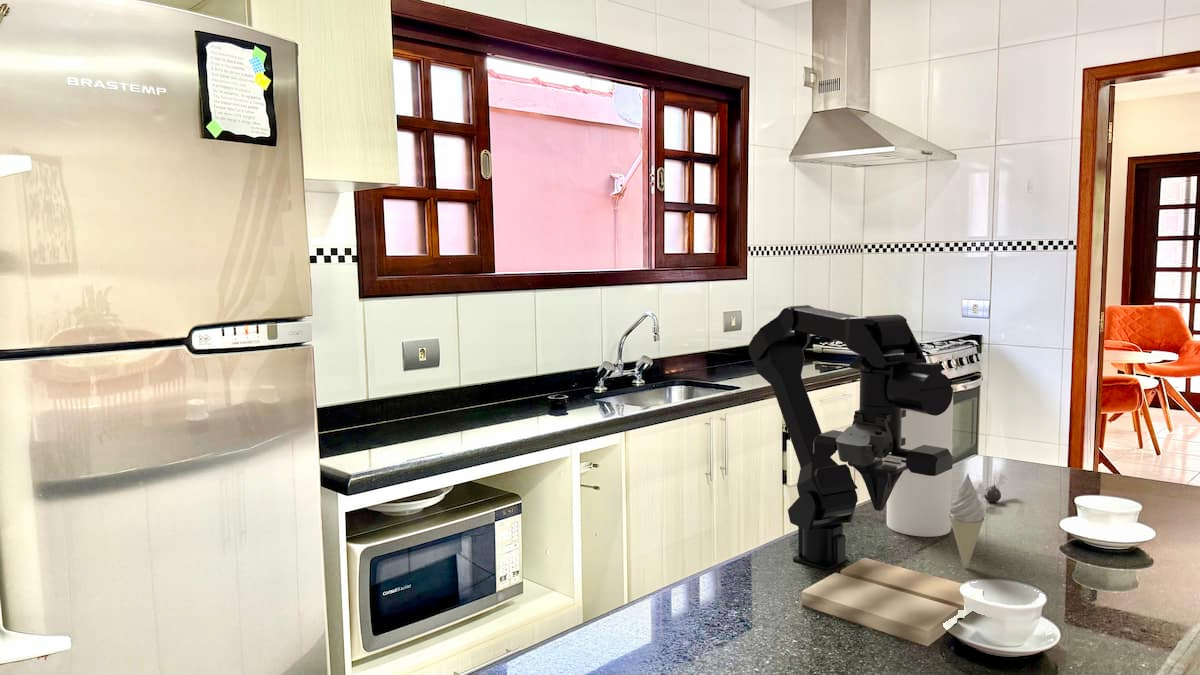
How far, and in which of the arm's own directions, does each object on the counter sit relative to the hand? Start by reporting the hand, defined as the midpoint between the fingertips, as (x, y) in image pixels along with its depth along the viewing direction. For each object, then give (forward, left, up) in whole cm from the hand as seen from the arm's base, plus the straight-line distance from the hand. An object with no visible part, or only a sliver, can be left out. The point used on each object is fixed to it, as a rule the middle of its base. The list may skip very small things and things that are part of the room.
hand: (878, 510), depth 118 cm
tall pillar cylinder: (-8, +30, -12) cm, 34 cm away
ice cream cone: (+6, +16, -12) cm, 21 cm away
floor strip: (+4, +2, -12) cm, 13 cm away
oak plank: (+4, -8, -12) cm, 15 cm away
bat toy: (-4, +53, -12) cm, 55 cm away
